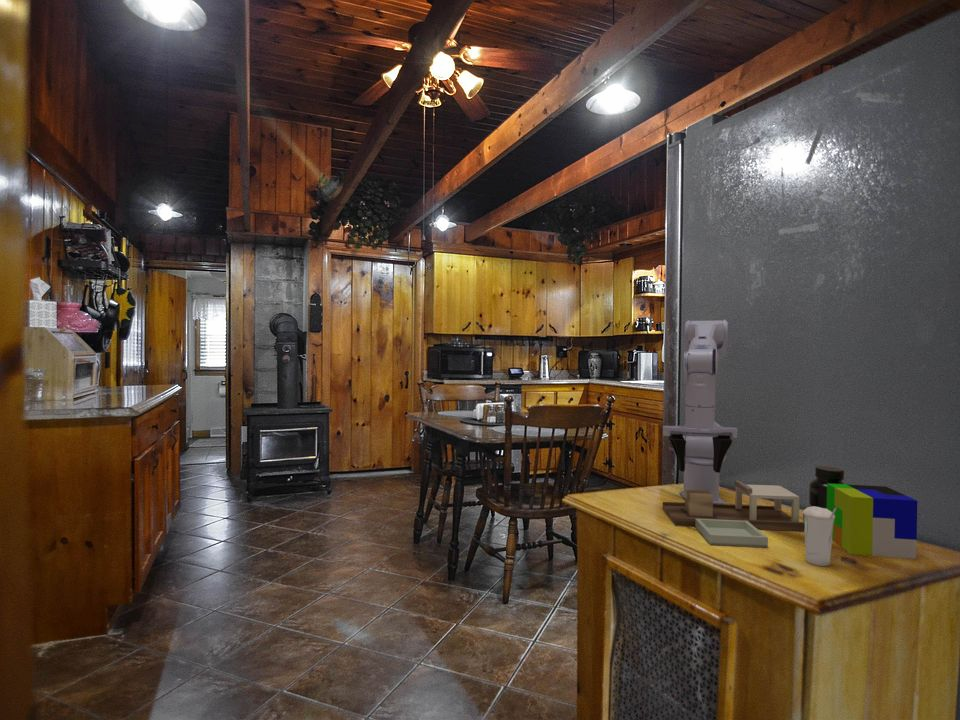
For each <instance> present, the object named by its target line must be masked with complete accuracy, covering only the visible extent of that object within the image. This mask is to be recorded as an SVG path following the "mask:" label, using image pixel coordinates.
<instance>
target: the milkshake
mask: <svg viewBox="0 0 960 720" xmlns="http://www.w3.org/2000/svg"><path fill="white" fill-rule="evenodd" d="M836 509H837V508H834V510H833V512H831V511H829V510H828V509H826V508H820V507H816V506H812V507H808V506H807V507H806V508H804V509H803V511H802V518H803V519H802V520H803V521H802V522H804V531H803V532H804V544H805V560H806V562H807V563H809V564H810V565H814V566H819V567H828V566H830V563H831V553H832V544H833V540H832V536H833V528H834V521H835V515H834V513H835V511H836Z"/></svg>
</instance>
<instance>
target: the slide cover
mask: <svg viewBox="0 0 960 720" xmlns="http://www.w3.org/2000/svg"><path fill="white" fill-rule="evenodd" d="M734 486H735V493H734V494H735V497H734V498H735V499H734V500H735V508H736V509H742V505H743V493H744V494H745V495H747V496H748V497H749V504H748V505H749V519H750V520H756V517H757V505H758V504H757V503H758V499H768V500H769V499H772V500H773V501H774V505H773V506H774V509H775V510H776V511H781V510H782V500H791V509H790V510H791V512H790V513H791V515H790V516H791V521H793V522H800V496H799V495H797V494H795V493H793V492H792V491H790V490H788V489H786V488H784V487H783V486H782V485H771V484H769V485H767V484H746V483H744V482H743V481H741V480H734Z"/></svg>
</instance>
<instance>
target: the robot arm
mask: <svg viewBox="0 0 960 720" xmlns="http://www.w3.org/2000/svg"><path fill="white" fill-rule="evenodd" d="M728 335H729V322H728V321H727V319H723V320H690V319H689V320H687V321H686V322H685V323H684V343H685V351H684V353H683V359H682V360H683V363H682V364H683V368H682V369H683V374H684V384H685V385H686V386H685V405H684V407H685V413H684V415H685V417H684V418H685V419H684V422H685V423H684V424H683V425H663V426H662V436H664V437H668V439H669V441H670V443H671V447H672V448H673V451H674V454H675V458H676V461H677V467H678V470H679V471H680V472H683V490H679V494H680V495H681V496H682V497H683V498H684V499H685V489H698V490H707V491H709V492H710V493H711V494H712V495H713V504H726V502H725V501H724V500H723V499H722V498H721V497H720V472H721V468H722V465H723V463H724V462H725V461H726V454H727V452H728V450H729V448H731V446H732V444H733V439H738V431H739V429H738V428H737V427H734V426H733V427H731V426H728V427H727V426H721V425H720V424H719V423H717V422H716V421H715V415H716V414H715V413H716V412H715V411H716V377H717V375H718V372H719V370H718V369H719V360H721V359H723V358H724V357H726V355H727V352H728V339H729V337H728ZM731 438H733V439H731Z"/></svg>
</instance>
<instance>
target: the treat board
mask: <svg viewBox="0 0 960 720" xmlns="http://www.w3.org/2000/svg"><path fill="white" fill-rule="evenodd" d="M749 505H750V504H742V509H736V508H735V504H733V503H732V504H731V503H729V504H728V503H725V504H713V517H712V516H690V515H689V514H688V512H687V511H686V510H685V501H683V502H679V501H678V502H677V501H662V510H663V511H664V513H665V514H666V515H667V517H668V518H669V519H670V521H672V523H673V524H674V525H675V527H689V528H690V527H694V528H695V519H717V520H740V521H748V522H749V523H751V524H752V525H753V526H754V527H756V528H757V529H758V530H759V531H761V530H764V531H786V532H804V522H803V521H799V522H793V521H791V515H789V514H788V513H787V512H785V511H784V510H782V509H781V511H776V510H775V509H774V505H760V504H757V517H756V520H750V519H749Z"/></svg>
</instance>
